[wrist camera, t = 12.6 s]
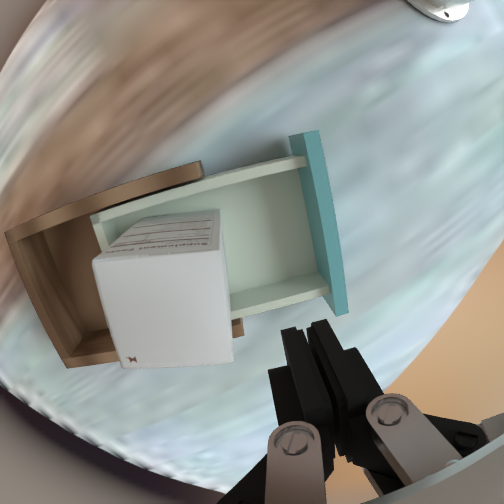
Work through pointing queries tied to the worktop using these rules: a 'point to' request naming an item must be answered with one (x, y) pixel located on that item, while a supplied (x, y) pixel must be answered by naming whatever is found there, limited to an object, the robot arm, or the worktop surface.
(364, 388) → the robot arm
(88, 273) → the organizer
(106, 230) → the tray
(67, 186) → the worktop surface
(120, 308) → the supplement box
